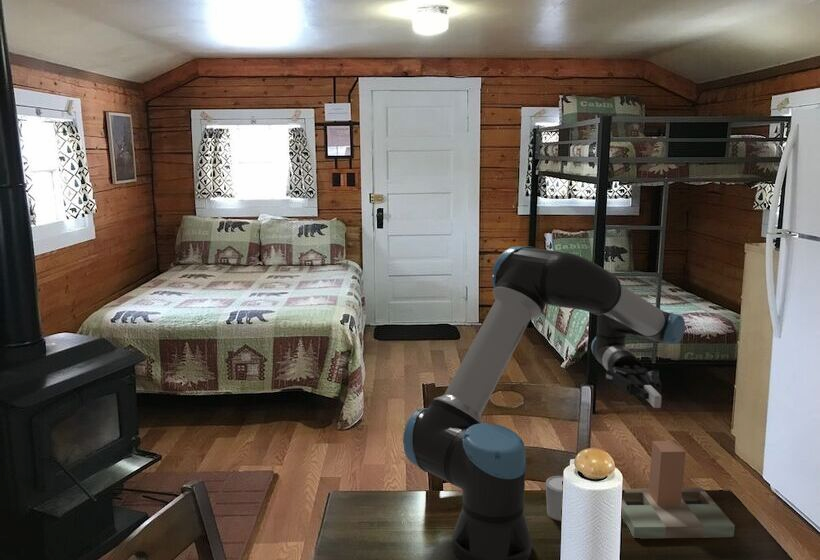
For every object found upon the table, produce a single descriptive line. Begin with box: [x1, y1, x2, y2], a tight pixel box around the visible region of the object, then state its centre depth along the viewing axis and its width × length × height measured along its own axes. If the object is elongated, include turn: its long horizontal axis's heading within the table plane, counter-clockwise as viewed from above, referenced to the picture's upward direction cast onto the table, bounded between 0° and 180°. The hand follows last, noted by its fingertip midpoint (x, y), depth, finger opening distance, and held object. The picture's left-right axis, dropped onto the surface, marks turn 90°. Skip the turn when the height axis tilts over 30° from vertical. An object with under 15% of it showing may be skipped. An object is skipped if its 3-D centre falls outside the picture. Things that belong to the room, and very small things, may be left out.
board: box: [621, 487, 736, 539], centre depth 141 cm, size 14×20×2 cm
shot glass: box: [545, 475, 563, 522], centre depth 142 cm, size 7×7×7 cm
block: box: [647, 440, 687, 505], centre depth 143 cm, size 5×5×12 cm
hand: (657, 401), depth 147 cm, fingers closed
